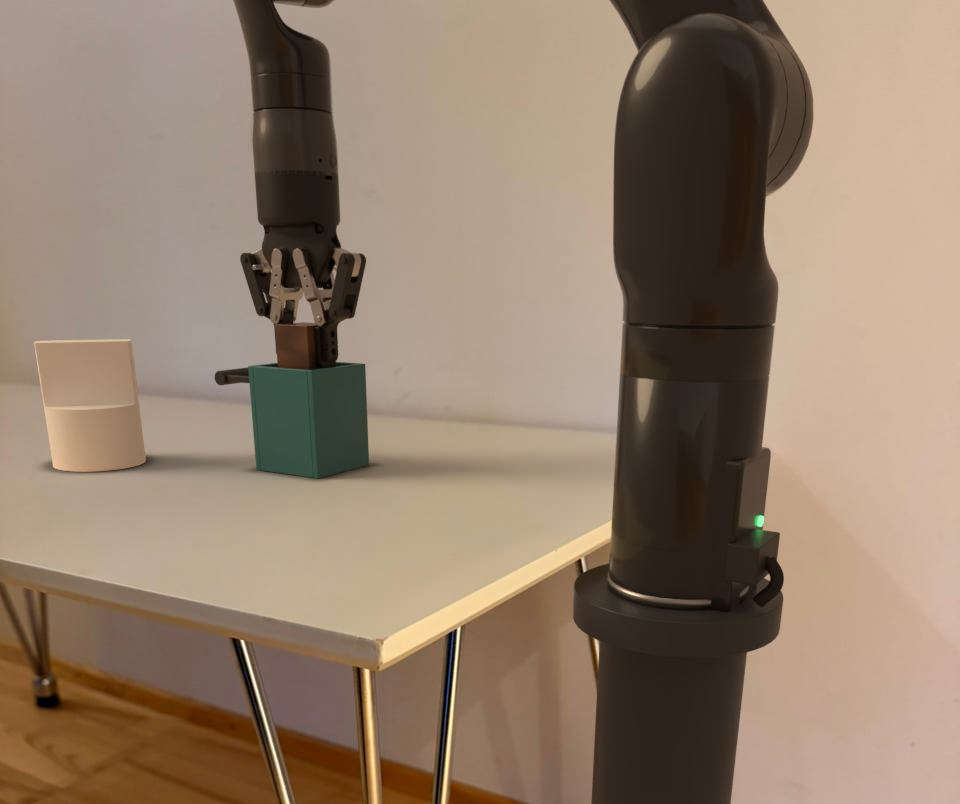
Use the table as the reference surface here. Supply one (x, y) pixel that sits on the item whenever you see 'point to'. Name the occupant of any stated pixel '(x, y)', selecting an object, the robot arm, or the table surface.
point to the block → (296, 346)
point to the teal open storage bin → (306, 417)
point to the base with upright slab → (91, 404)
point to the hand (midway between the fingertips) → (307, 364)
